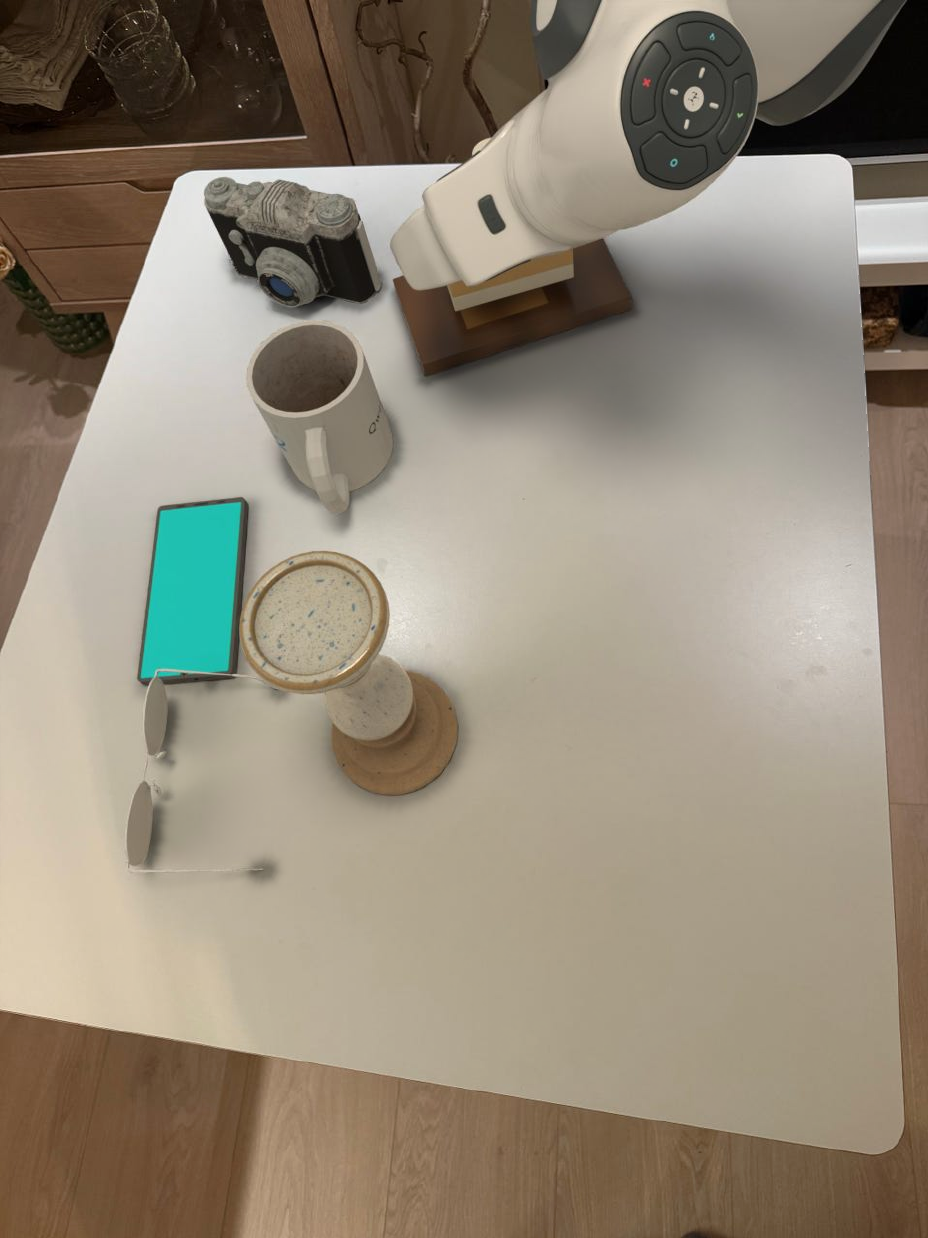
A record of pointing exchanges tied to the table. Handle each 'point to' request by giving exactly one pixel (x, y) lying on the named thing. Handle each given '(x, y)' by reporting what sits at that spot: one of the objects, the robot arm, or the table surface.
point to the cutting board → (512, 312)
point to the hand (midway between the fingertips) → (495, 211)
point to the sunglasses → (141, 800)
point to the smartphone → (194, 591)
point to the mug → (321, 408)
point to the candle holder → (348, 669)
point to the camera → (294, 240)
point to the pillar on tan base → (513, 276)
